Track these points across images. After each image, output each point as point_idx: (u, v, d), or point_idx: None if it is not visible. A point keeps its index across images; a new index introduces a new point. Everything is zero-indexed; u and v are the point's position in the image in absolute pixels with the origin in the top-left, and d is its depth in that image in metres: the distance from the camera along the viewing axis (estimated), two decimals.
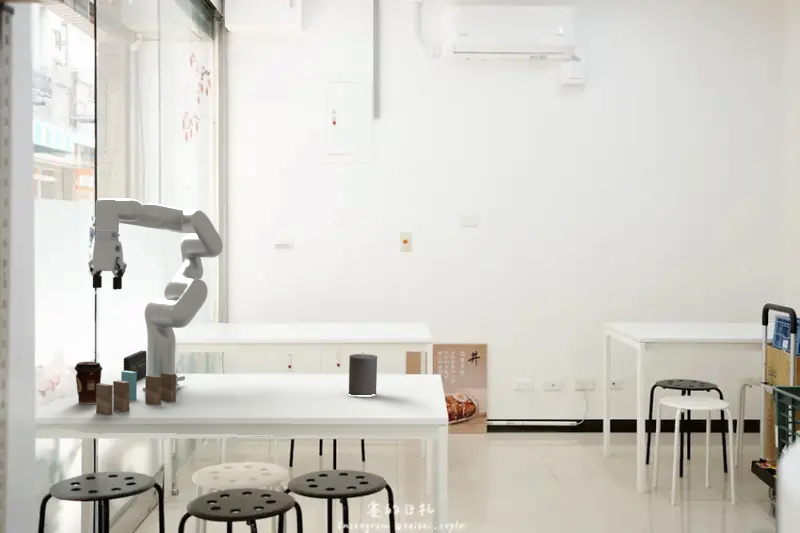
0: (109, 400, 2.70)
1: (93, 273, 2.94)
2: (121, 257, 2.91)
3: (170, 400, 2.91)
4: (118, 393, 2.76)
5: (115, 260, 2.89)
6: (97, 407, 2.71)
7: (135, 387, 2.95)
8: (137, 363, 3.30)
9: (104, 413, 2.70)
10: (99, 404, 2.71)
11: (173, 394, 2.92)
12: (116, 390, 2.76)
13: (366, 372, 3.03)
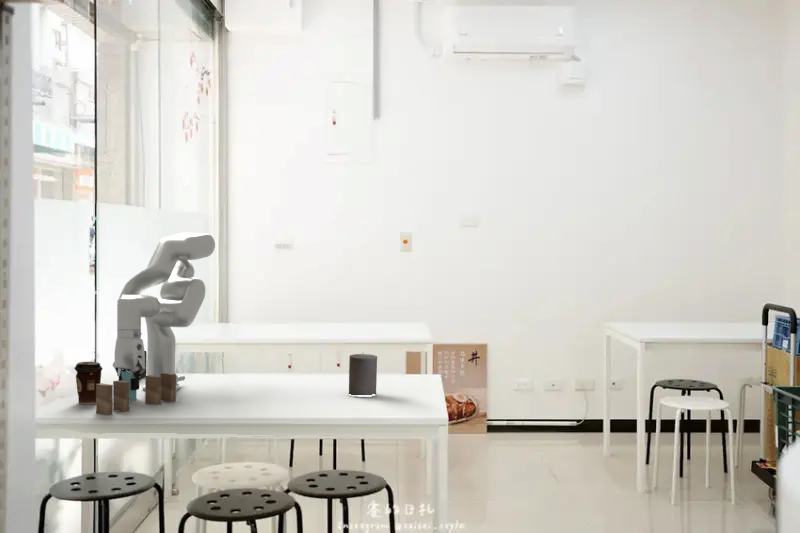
0: (109, 400, 2.70)
1: (119, 373, 2.96)
2: (143, 355, 2.94)
3: (170, 400, 2.91)
4: (118, 393, 2.76)
5: (137, 359, 2.92)
6: (97, 407, 2.71)
7: None
8: None
9: (104, 413, 2.70)
10: (99, 404, 2.71)
11: (173, 394, 2.92)
12: (116, 390, 2.76)
13: (366, 372, 3.03)
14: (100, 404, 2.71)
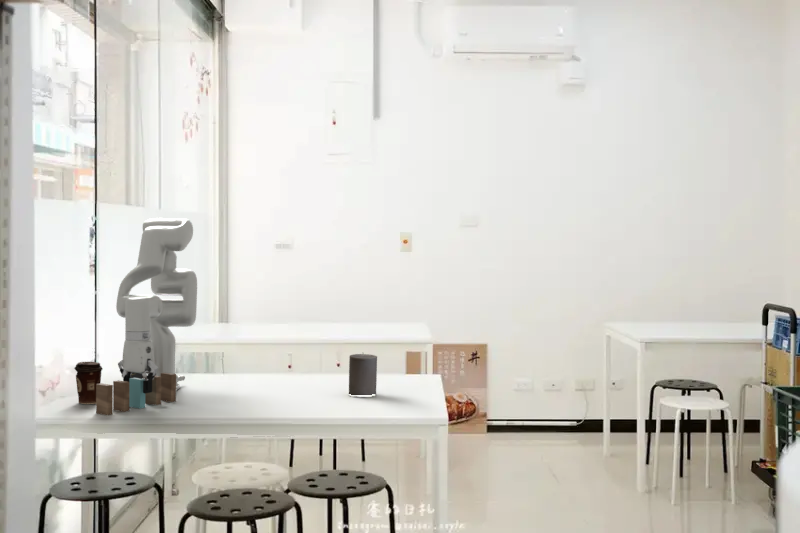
0: (109, 400, 2.70)
1: (123, 375, 2.83)
2: (152, 358, 2.80)
3: (170, 400, 2.91)
4: (118, 393, 2.76)
5: (146, 362, 2.78)
6: (97, 407, 2.71)
7: (144, 395, 2.81)
8: None
9: (104, 413, 2.70)
10: (99, 404, 2.71)
11: (173, 394, 2.92)
12: (116, 390, 2.76)
13: (366, 372, 3.03)
14: (100, 404, 2.71)
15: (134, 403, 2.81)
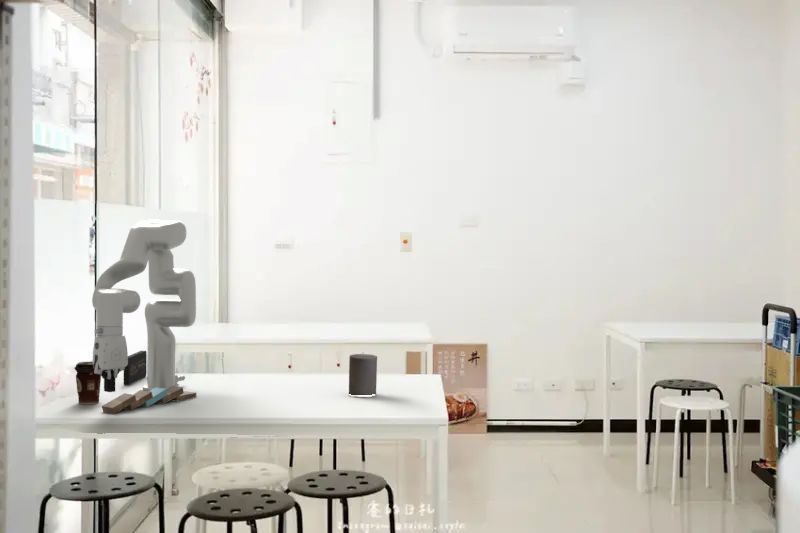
0: (124, 403, 2.74)
1: None
2: (99, 355, 2.67)
3: None
4: (137, 395, 2.82)
5: (94, 358, 2.68)
6: (107, 403, 2.74)
7: (156, 400, 2.86)
8: (137, 363, 3.30)
9: (110, 406, 2.72)
10: (112, 402, 2.75)
11: (181, 398, 2.95)
12: (136, 394, 2.83)
13: (366, 372, 3.03)
14: (113, 402, 2.75)
15: None
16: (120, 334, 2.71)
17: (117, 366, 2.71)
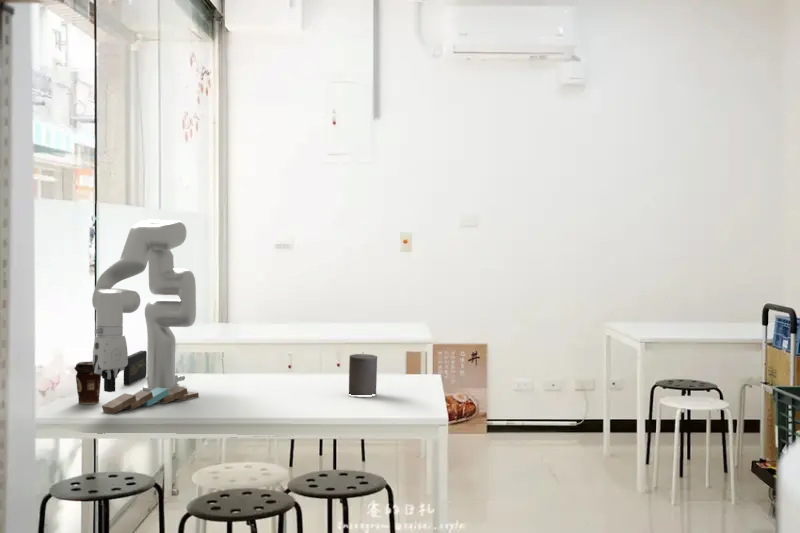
0: (124, 404, 2.74)
1: None
2: (99, 355, 2.67)
3: None
4: (137, 395, 2.82)
5: (94, 358, 2.68)
6: (108, 403, 2.74)
7: (157, 399, 2.86)
8: (137, 363, 3.30)
9: (110, 406, 2.72)
10: (112, 402, 2.75)
11: (183, 398, 2.95)
12: (137, 394, 2.83)
13: (366, 372, 3.03)
14: (113, 402, 2.75)
15: None
16: (120, 334, 2.71)
17: (117, 366, 2.71)
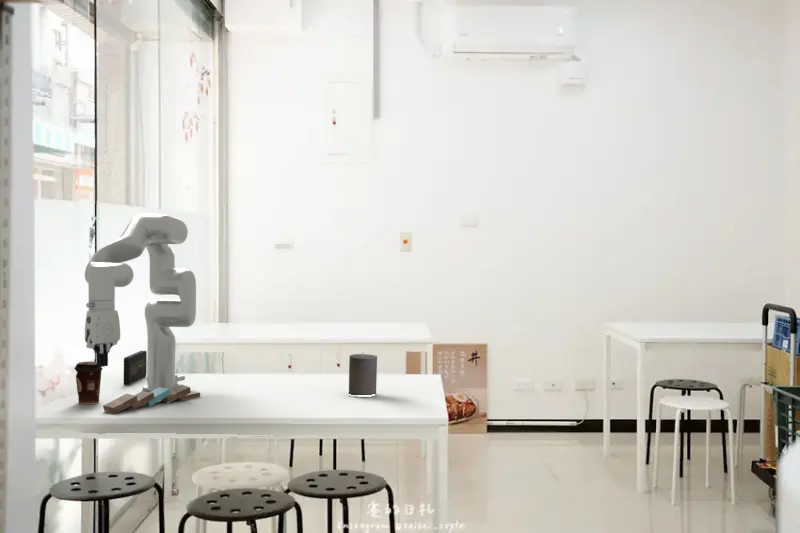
0: (125, 404, 2.74)
1: None
2: (91, 330, 2.64)
3: None
4: (139, 396, 2.83)
5: (86, 332, 2.66)
6: (109, 403, 2.75)
7: (158, 399, 2.87)
8: (137, 363, 3.30)
9: (111, 406, 2.72)
10: (113, 402, 2.75)
11: (185, 398, 2.96)
12: (138, 394, 2.84)
13: (366, 372, 3.03)
14: (114, 402, 2.75)
15: None
16: (112, 308, 2.68)
17: (109, 340, 2.69)
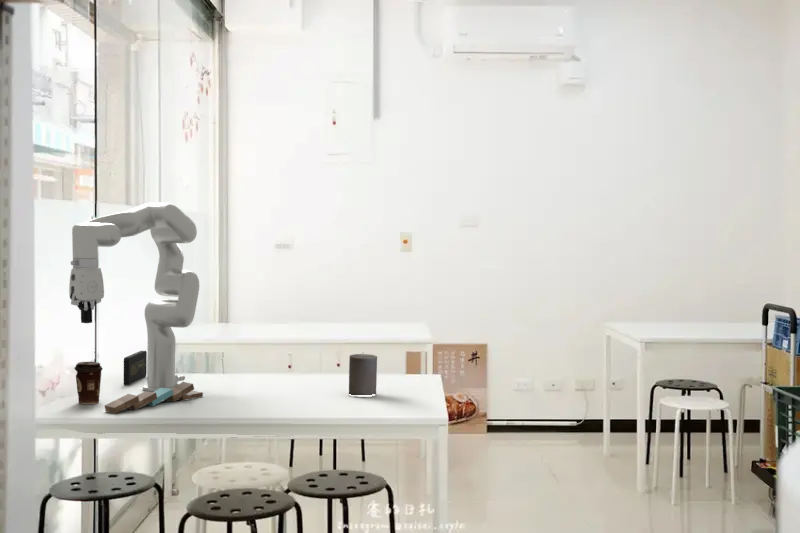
0: (126, 404, 2.75)
1: None
2: (76, 287, 2.72)
3: None
4: (141, 396, 2.83)
5: (70, 289, 2.73)
6: (110, 403, 2.75)
7: (161, 399, 2.88)
8: (137, 363, 3.30)
9: (112, 406, 2.72)
10: (115, 402, 2.75)
11: (188, 397, 2.96)
12: (141, 394, 2.84)
13: (366, 372, 3.03)
14: (116, 402, 2.75)
15: None
16: (96, 266, 2.75)
17: (93, 298, 2.76)
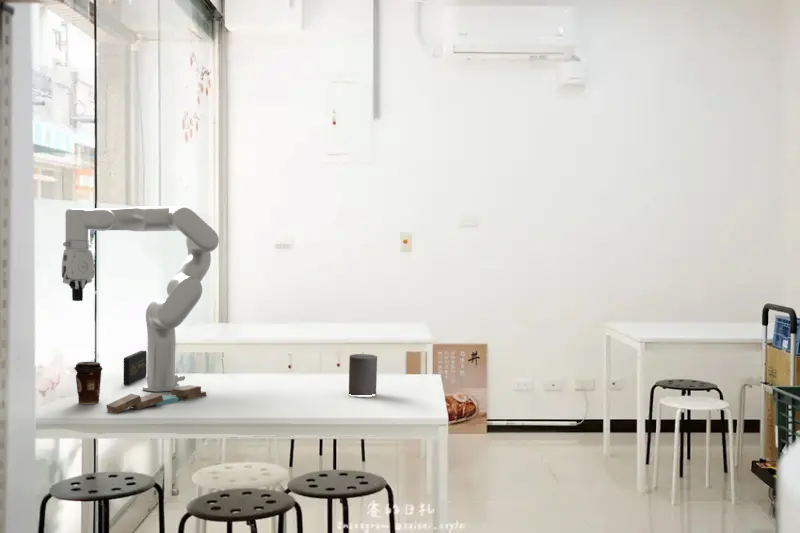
0: (128, 404, 2.75)
1: None
2: (67, 266, 2.92)
3: (187, 395, 2.96)
4: (147, 397, 2.83)
5: (62, 269, 2.93)
6: (112, 403, 2.76)
7: None
8: (137, 363, 3.30)
9: (114, 406, 2.73)
10: (117, 401, 2.76)
11: (192, 397, 2.97)
12: (148, 395, 2.84)
13: (366, 372, 3.03)
14: (118, 402, 2.76)
15: None
16: (87, 248, 2.96)
17: (84, 277, 2.96)
